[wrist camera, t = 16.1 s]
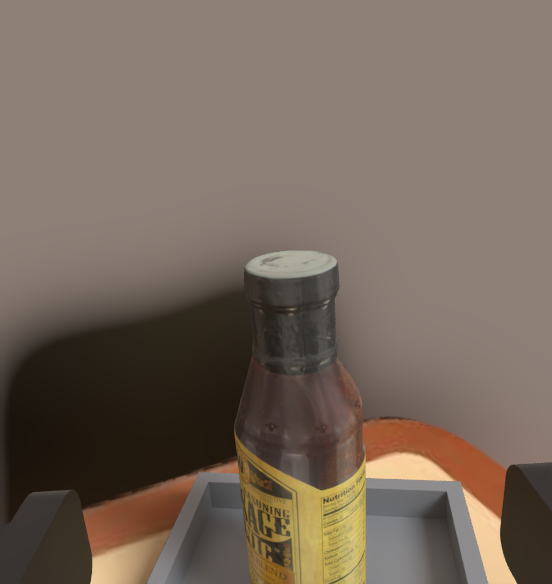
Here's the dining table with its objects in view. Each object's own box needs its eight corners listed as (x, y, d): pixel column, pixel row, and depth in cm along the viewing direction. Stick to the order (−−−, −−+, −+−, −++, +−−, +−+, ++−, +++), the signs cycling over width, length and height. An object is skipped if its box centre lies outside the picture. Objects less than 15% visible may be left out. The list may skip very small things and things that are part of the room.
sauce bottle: (241, 581, 30) (197, 254, 24) (336, 546, 32) (318, 235, 26) (279, 688, 24) (235, 290, 18) (393, 637, 26) (388, 261, 20)
